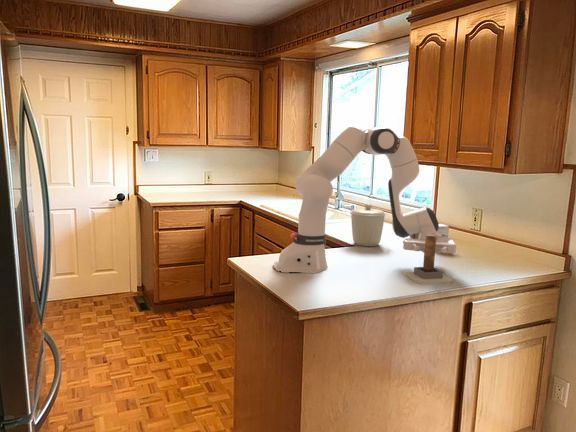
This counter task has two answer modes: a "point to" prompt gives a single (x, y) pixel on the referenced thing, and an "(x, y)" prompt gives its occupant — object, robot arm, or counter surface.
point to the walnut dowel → (429, 253)
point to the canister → (367, 225)
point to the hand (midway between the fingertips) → (429, 250)
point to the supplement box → (443, 230)
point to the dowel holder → (427, 276)
